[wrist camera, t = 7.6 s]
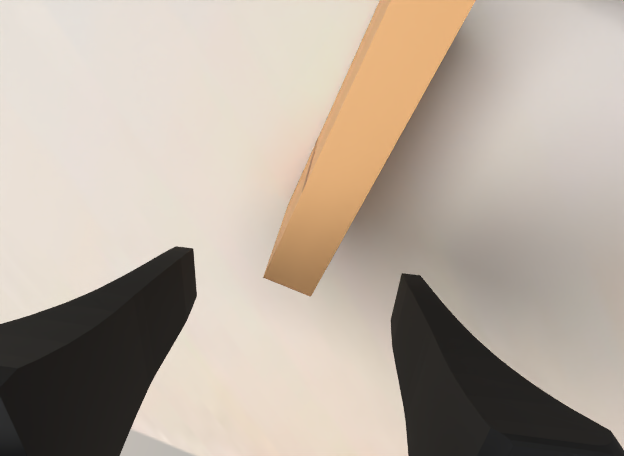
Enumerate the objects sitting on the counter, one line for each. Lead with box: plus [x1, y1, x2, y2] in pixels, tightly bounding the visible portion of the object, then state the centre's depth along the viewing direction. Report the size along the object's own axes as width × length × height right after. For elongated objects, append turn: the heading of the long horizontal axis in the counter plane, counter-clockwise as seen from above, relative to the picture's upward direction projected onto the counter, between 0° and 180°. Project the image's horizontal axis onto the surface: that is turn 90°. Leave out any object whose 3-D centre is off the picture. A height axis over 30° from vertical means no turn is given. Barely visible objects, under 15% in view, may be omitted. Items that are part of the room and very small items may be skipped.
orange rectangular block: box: [263, 0, 476, 296], centre depth 15 cm, size 11×2×7 cm, turn 157°
